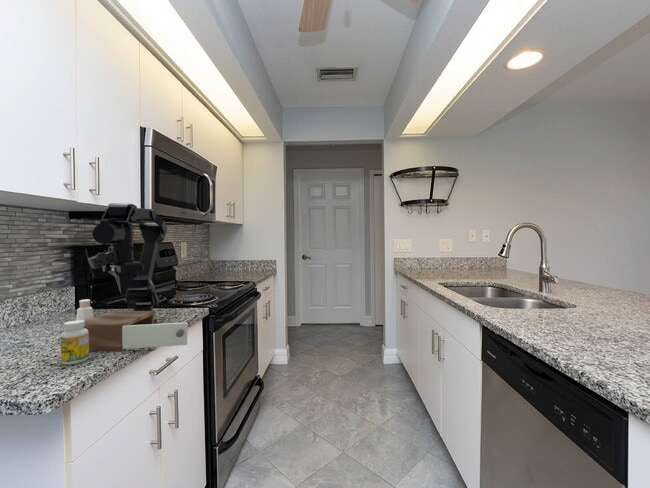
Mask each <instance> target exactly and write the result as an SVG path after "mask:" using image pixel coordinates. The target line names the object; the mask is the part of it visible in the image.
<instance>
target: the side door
mask: <svg viewBox="0 0 650 488" xmlns="http://www.w3.org/2000/svg"><path fill="white" fill-rule="evenodd" d="M122 345H123V349H124V350H127V349H129V350H130V349H142V348H143V349H144V348H159V347H160V348H161V347H175V346H176V347H177V346H188V322H186V321H185V322H171V323H170V322H169V323H168V322H166V323H154V324H146V325H127V326H122Z"/></svg>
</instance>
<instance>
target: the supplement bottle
mask: <svg viewBox="0 0 650 488" xmlns="http://www.w3.org/2000/svg"><path fill="white" fill-rule="evenodd" d="M84 326H85V321H84V320H76V319H75V320H71V321H66V322H64V323H63V329H64V331H62V333H61V334H60V337H59V338H60V363H62V365H66V366H68V365H69V366H70V365H75V364H79V363H83V362H86V361H87V360H89V357H90V351H89V332H88V330H87V329H86V328H84Z"/></svg>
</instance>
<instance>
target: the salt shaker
mask: <svg viewBox="0 0 650 488" xmlns="http://www.w3.org/2000/svg"><path fill="white" fill-rule="evenodd" d="M78 301H79V302H78V303H79V308H77V310H76V318H75V320H86V319H89V318H92V317H95V316H94V309H93V307H92V306H91V299H88V298H87V299H86V298H85V299H81V300H78Z"/></svg>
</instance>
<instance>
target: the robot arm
mask: <svg viewBox="0 0 650 488" xmlns="http://www.w3.org/2000/svg"><path fill="white" fill-rule="evenodd" d="M137 220H140V221H139V223H138V228H139V230H140V233H141V234H140V235H141V237H142V239H143V240H144V241H143V242H144V243H143V246H142V250H141V256H140V260H139V261H136V259H134V251H136V246H134V234H133V233H134V232H133V231H134V230H135V229H136V227H135V226H134V224H133V222H136V221H137ZM144 220H147V221H148V220H152V221H153V222H144ZM167 234H168V225H167V223H166V221H165V219H164V218H162V217H161V216H160V215H159V214H157V211H156V209H154V208H141V207H138V206H137V205H136V204H133V203H130V202H129V203H127V202H126V203H125V202H124V203H123V202H122V203H117V202H116V203H114V202H112V203H111V202H110V203H108V206H107V207H105V210H104V213H103V215H102V217H101V219H100V220H99V224H97V225H96V226H94V228H93V230H92V238H93V239H94V241H95V242H97V243H99V244H102V245H104V244H105V245H106V244H110V246H108V248H107V251H106V252H104V251H103V252H100V253H97V254H96V255H94V256H91V257H89V258H87V261H88V263H89V265H90V267H91V269H94V270H98V269H100V268H102V270H108V271H107V272H108V273H109V274H111V275H112V276H113V277H114V278H115V280H116V283H117V286H118V290H119V293H120V294H125V296H124V297H125V301H126V306H127V308H132V309H133V311H154V310H153V307H155V306H158V305H159V303H160V302H159V300H160V299H159V297H158V294H157V293H156V290H155V289H156V287H155V285H154V282H153V281H152V278H153V274H154V269H155V263H156V260H157V259H156V258H157V253H158V249H159V246H160V244H162V243H163V242H164V241H165V238H166V235H167ZM109 269H110V270H109ZM135 275H136V276H135ZM134 277H135V278H134ZM156 321H158V319H157V318H154V322H156Z"/></svg>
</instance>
